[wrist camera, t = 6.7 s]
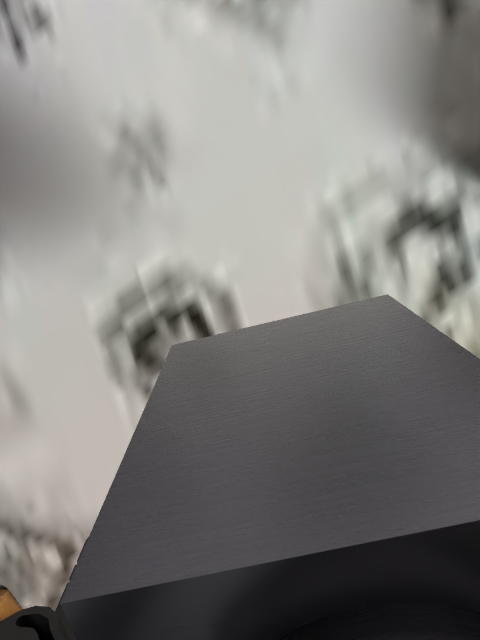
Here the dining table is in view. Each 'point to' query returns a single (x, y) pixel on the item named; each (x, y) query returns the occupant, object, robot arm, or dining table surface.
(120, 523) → the grey cube with knob
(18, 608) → the stuffed squirrel
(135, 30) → the dining table surface
